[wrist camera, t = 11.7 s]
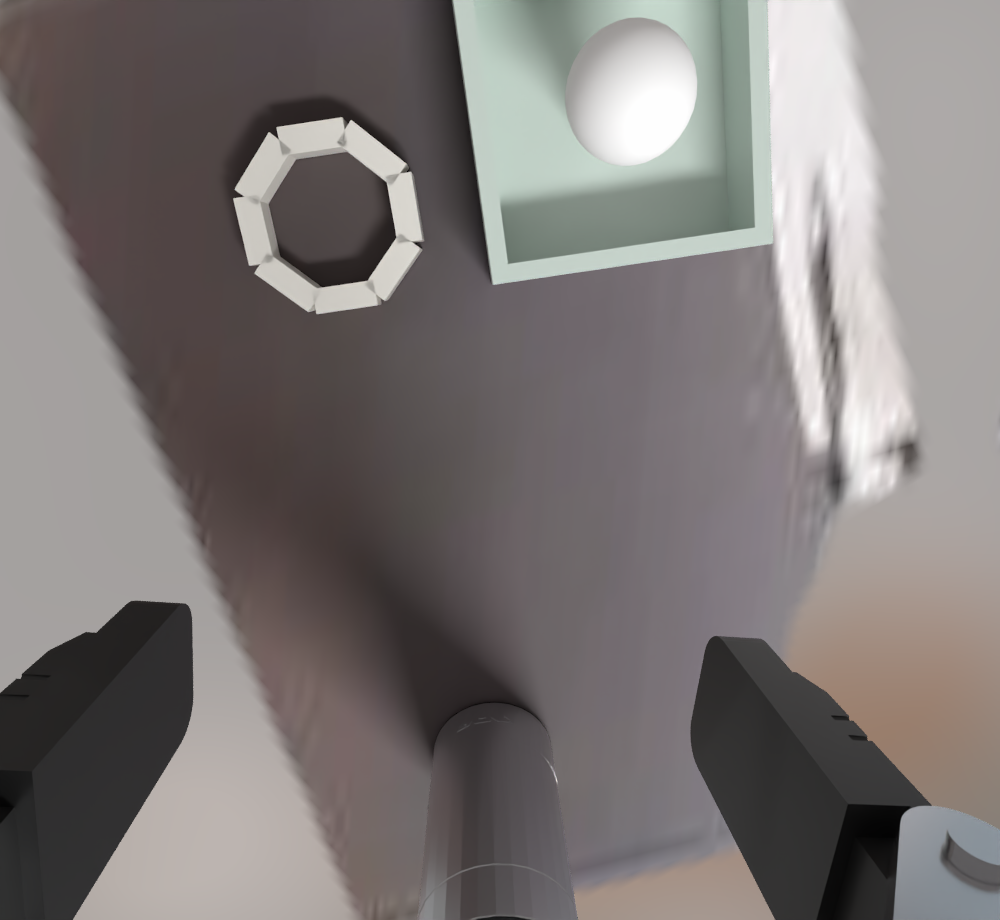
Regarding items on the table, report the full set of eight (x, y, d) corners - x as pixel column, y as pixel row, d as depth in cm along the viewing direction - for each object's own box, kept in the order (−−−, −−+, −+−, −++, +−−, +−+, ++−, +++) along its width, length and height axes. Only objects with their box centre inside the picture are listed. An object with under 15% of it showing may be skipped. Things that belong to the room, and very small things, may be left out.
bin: (742, 246, 41) (773, 243, 37) (491, 283, 41) (493, 284, 37) (731, -49, 37) (765, -93, 32) (450, -7, 37) (446, -44, 33)
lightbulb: (532, 92, 38) (558, 25, 27) (632, 54, 37) (698, -29, 27) (564, 199, 39) (599, 175, 29) (660, 164, 39) (731, 126, 29)
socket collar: (433, 296, 41) (431, 297, 40) (270, 320, 41) (262, 322, 40) (403, 114, 38) (400, 108, 37) (228, 141, 39) (218, 135, 37)
